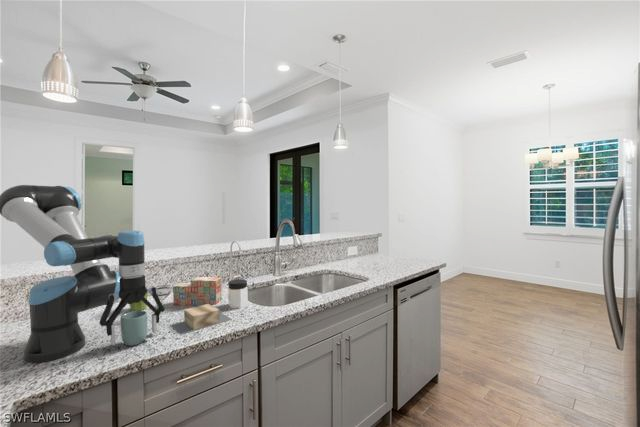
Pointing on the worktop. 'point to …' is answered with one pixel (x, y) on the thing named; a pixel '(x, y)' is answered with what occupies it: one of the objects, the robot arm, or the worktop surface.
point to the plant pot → (138, 305)
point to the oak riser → (201, 316)
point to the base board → (184, 328)
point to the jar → (238, 293)
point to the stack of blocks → (198, 292)
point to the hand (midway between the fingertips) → (134, 337)
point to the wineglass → (163, 293)
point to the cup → (133, 327)
